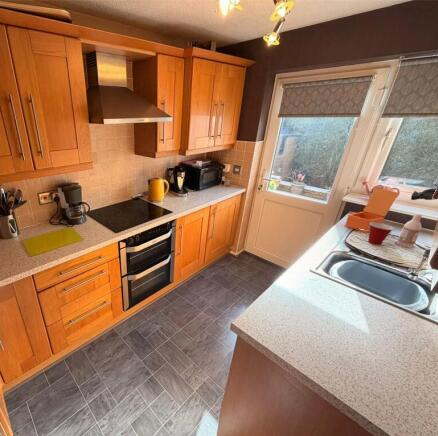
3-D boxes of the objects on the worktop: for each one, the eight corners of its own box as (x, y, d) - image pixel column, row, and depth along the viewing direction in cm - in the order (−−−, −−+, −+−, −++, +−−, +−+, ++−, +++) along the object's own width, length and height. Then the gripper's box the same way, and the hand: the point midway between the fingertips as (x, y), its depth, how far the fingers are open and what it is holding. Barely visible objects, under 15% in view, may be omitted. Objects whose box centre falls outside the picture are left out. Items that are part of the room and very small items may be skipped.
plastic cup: (392, 246, 138) (399, 228, 134) (377, 247, 137) (384, 229, 132) (372, 238, 148) (379, 221, 144) (358, 239, 147) (364, 222, 142)
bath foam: (407, 248, 135) (421, 217, 128) (393, 243, 142) (406, 213, 134) (416, 247, 137) (430, 216, 129) (402, 242, 143) (415, 212, 136)
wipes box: (365, 232, 157) (369, 220, 153) (345, 225, 168) (348, 214, 164) (380, 228, 162) (384, 217, 159) (359, 222, 173) (363, 211, 170)
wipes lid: (398, 192, 155) (399, 192, 155) (375, 188, 166) (376, 188, 166) (384, 216, 159) (385, 216, 159) (363, 210, 170) (363, 211, 170)
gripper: (443, 201, 152) (424, 206, 145) (416, 196, 164) (397, 200, 156) (449, 190, 150) (429, 194, 142) (421, 186, 161) (402, 189, 153)
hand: (413, 197), depth 149 cm, fingers closed
